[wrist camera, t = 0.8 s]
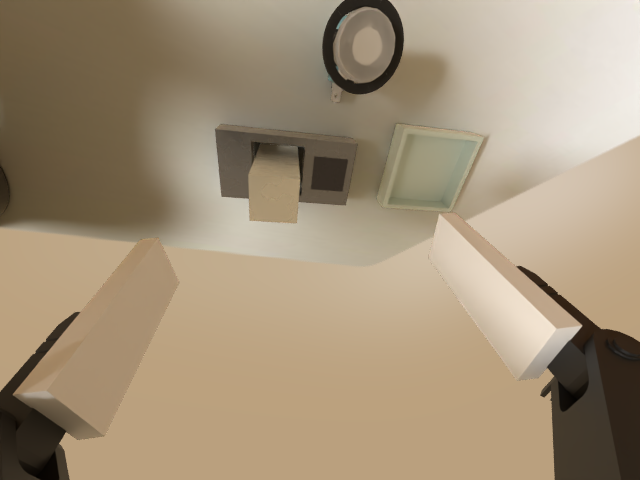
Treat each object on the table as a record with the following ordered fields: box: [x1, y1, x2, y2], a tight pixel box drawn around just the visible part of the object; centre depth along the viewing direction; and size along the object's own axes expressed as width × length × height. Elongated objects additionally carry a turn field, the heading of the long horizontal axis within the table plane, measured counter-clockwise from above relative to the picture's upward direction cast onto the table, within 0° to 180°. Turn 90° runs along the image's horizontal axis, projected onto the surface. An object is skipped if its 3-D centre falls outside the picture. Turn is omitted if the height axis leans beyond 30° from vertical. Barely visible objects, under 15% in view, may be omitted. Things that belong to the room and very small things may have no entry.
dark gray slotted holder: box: [215, 124, 357, 205], centre depth 29 cm, size 14×7×3 cm, turn 83°
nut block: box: [248, 143, 300, 223], centre depth 25 cm, size 4×4×10 cm
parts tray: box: [377, 123, 484, 212], centre depth 30 cm, size 9×9×2 cm
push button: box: [322, 0, 404, 103], centre depth 21 cm, size 7×5×10 cm
